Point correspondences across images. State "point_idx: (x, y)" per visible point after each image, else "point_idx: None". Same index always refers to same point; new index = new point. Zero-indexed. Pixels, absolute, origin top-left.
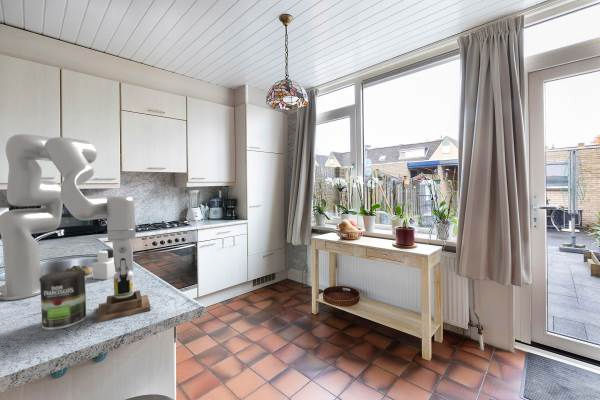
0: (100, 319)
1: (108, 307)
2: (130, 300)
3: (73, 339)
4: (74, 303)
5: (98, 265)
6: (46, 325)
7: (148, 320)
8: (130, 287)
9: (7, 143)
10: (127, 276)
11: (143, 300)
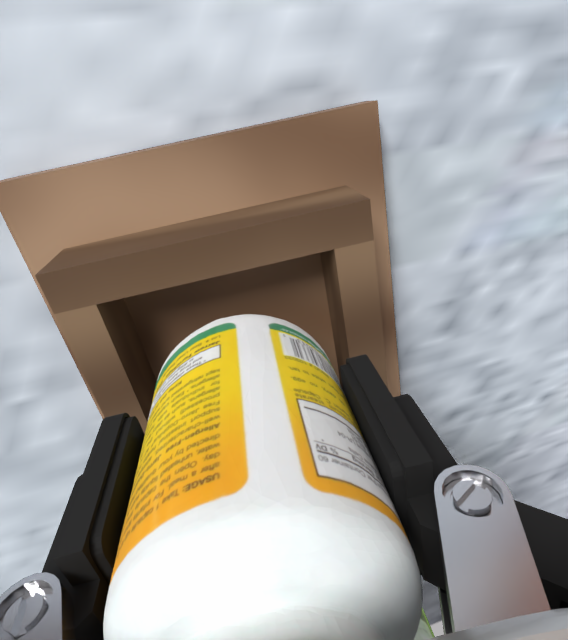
0: None
1: None
2: (346, 304)
3: (542, 448)
4: (421, 626)
5: None
6: None
7: (562, 95)
8: (320, 378)
9: None
10: (524, 540)
11: (169, 198)
